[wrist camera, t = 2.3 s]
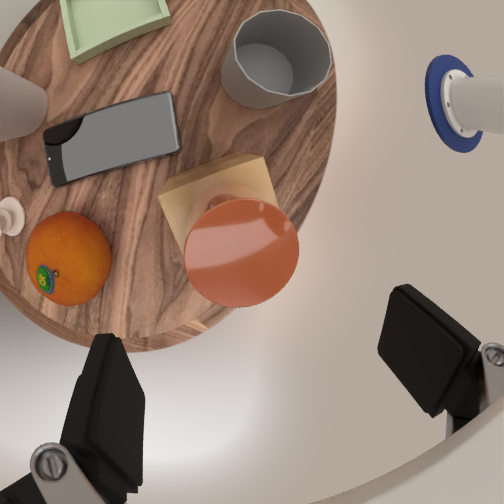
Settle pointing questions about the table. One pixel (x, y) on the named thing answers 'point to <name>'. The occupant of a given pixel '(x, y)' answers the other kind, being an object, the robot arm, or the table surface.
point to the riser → (210, 174)
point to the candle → (11, 216)
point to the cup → (275, 59)
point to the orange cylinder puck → (238, 246)
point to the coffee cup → (20, 106)
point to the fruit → (68, 258)
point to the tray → (108, 23)
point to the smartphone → (112, 138)
